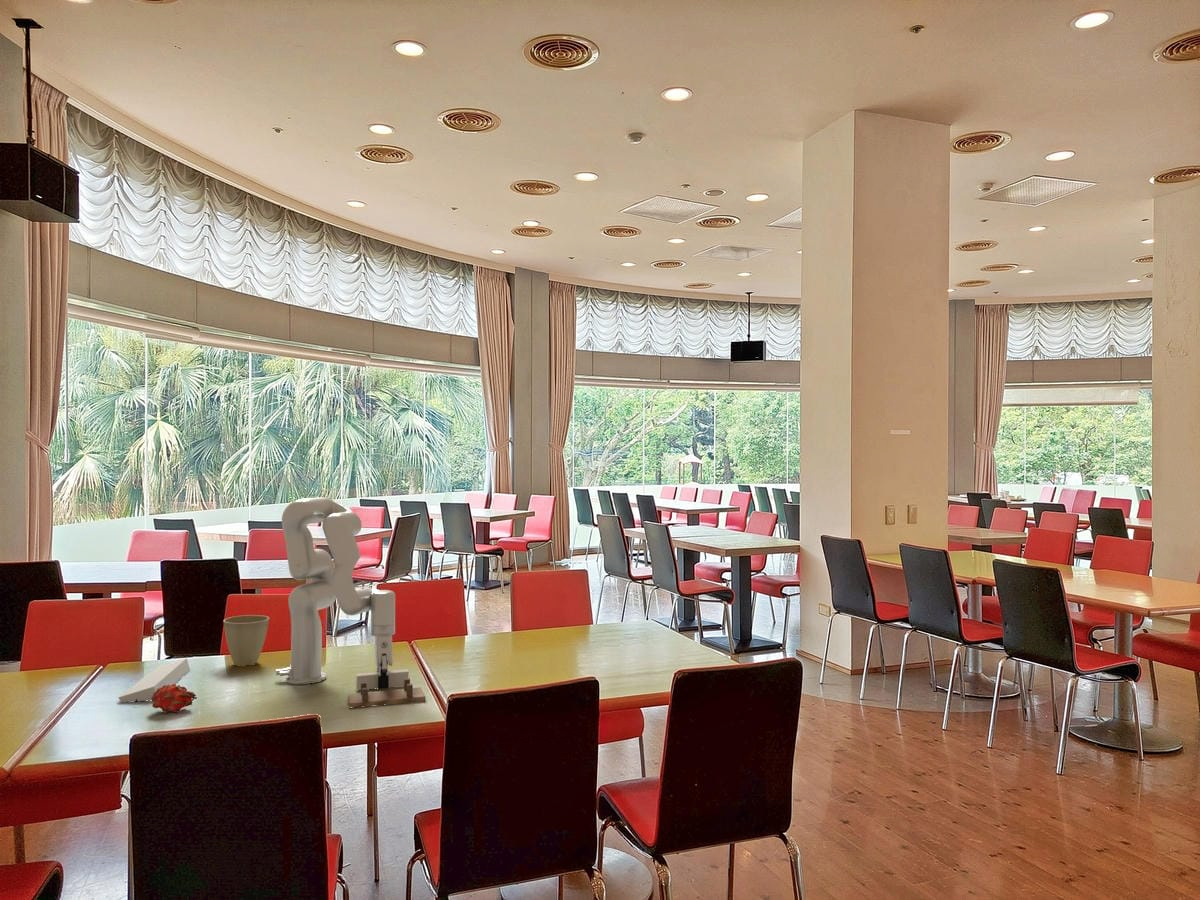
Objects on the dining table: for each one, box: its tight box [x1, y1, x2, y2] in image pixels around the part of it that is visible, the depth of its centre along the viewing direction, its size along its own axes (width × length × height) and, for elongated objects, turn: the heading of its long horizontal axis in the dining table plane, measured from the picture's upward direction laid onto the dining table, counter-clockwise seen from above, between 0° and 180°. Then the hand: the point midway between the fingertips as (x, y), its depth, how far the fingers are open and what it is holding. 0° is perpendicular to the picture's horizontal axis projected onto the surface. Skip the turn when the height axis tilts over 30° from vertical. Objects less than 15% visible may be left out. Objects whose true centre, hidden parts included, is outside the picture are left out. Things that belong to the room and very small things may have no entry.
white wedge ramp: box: [118, 658, 191, 703], centre depth 257 cm, size 34×5×10 cm
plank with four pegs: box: [347, 677, 426, 708], centre depth 244 cm, size 22×10×5 cm, turn 110°
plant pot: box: [223, 614, 270, 667], centre depth 284 cm, size 15×15×16 cm
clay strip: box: [355, 668, 409, 691], centre depth 257 cm, size 16×3×5 cm, turn 112°
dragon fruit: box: [151, 684, 198, 714], centre depth 232 cm, size 8×8×12 cm
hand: (382, 685), depth 257 cm, fingers open, 5 cm apart
